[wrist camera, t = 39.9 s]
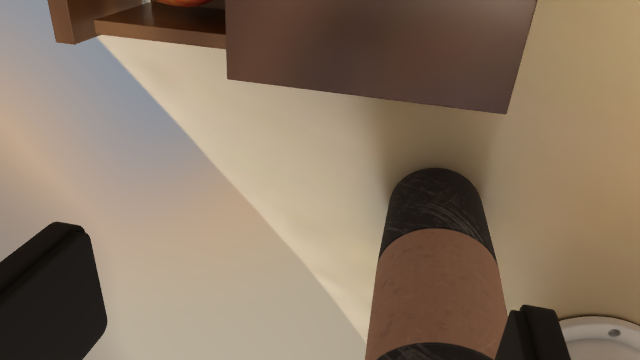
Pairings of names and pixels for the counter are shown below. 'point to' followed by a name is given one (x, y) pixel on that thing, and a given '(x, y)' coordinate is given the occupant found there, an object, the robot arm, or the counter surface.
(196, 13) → the drawer
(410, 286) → the travel mug
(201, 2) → the fruit
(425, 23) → the cabinet
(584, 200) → the counter surface
